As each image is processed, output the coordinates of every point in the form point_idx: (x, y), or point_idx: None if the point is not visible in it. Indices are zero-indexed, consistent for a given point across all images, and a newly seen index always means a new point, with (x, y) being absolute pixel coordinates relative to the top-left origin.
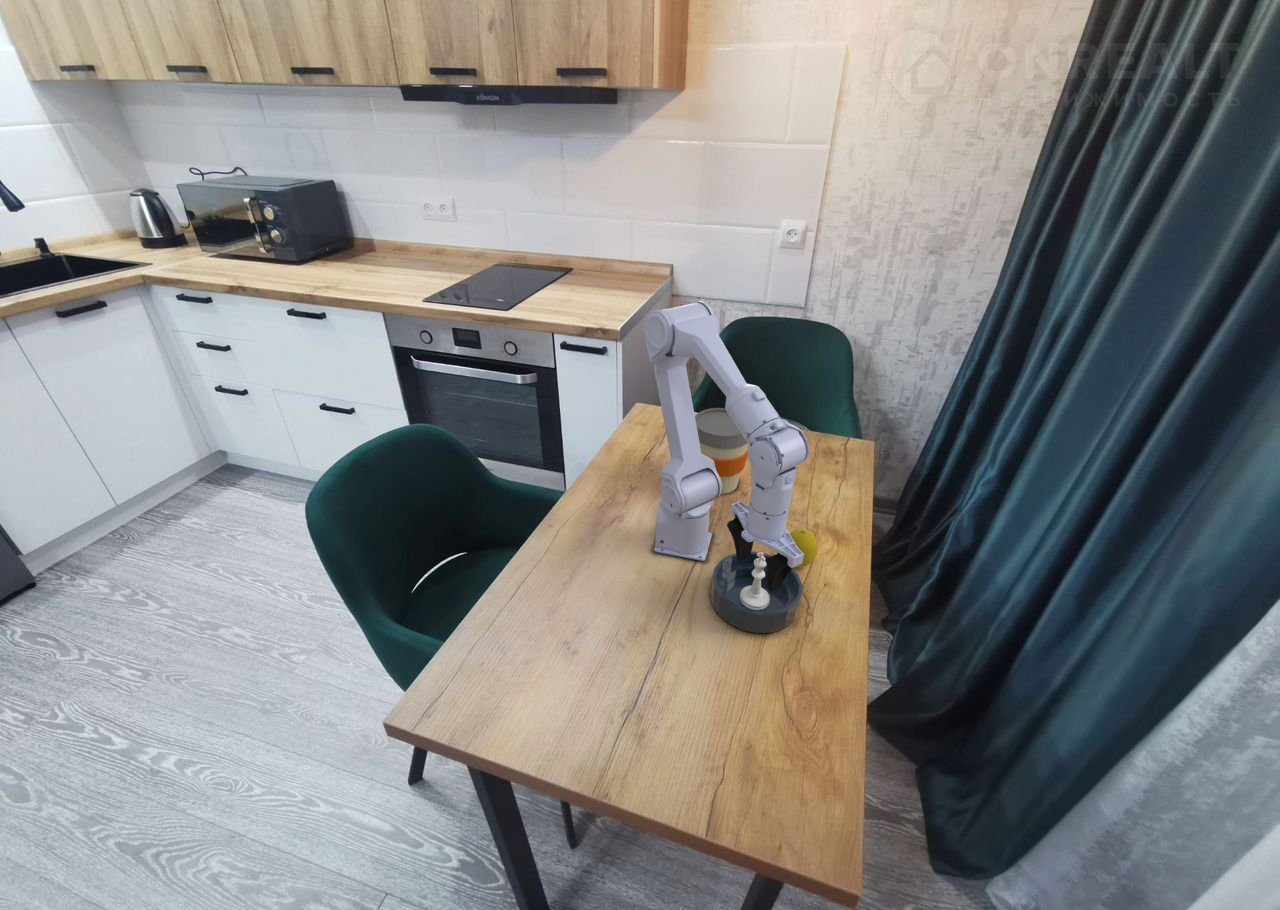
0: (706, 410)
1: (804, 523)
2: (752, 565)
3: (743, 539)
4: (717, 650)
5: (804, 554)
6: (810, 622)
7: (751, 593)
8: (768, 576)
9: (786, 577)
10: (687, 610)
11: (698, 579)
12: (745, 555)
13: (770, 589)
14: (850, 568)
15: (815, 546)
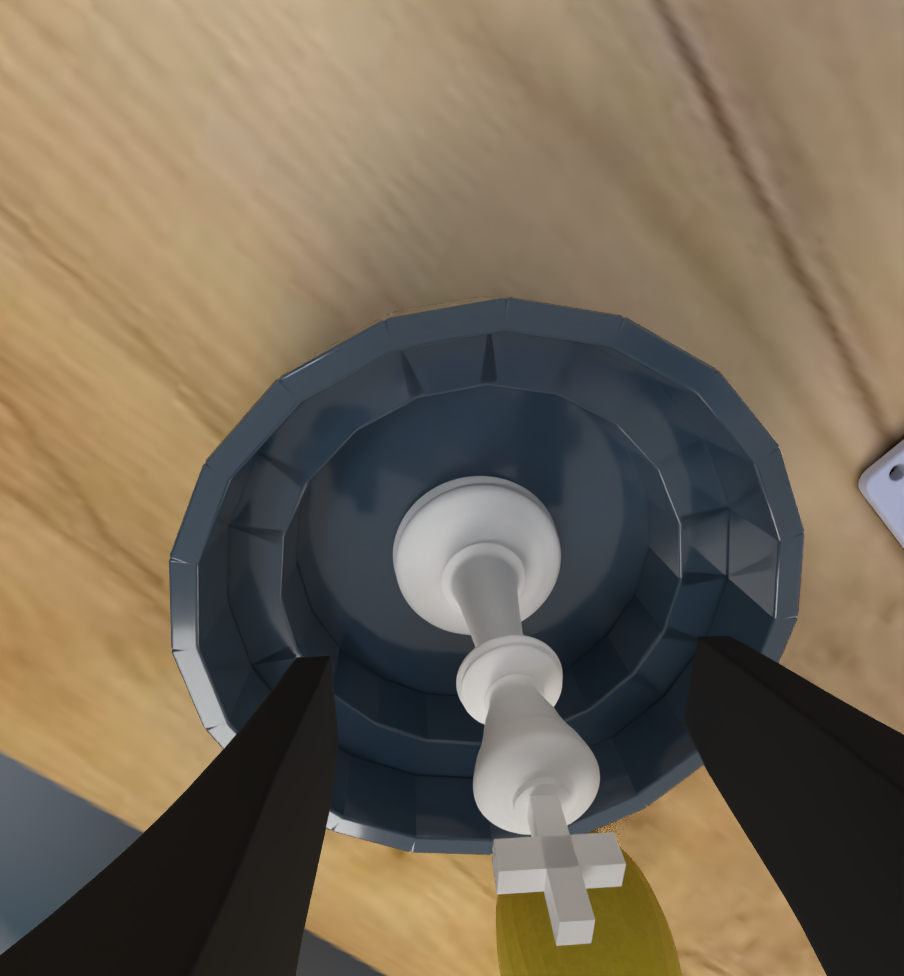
0: None
1: (715, 959)
2: (650, 677)
3: (895, 882)
4: (256, 116)
5: (520, 953)
6: None
7: (480, 551)
8: (271, 772)
9: None
10: (627, 142)
11: (776, 369)
12: (710, 711)
13: (289, 669)
14: (423, 962)
15: None
